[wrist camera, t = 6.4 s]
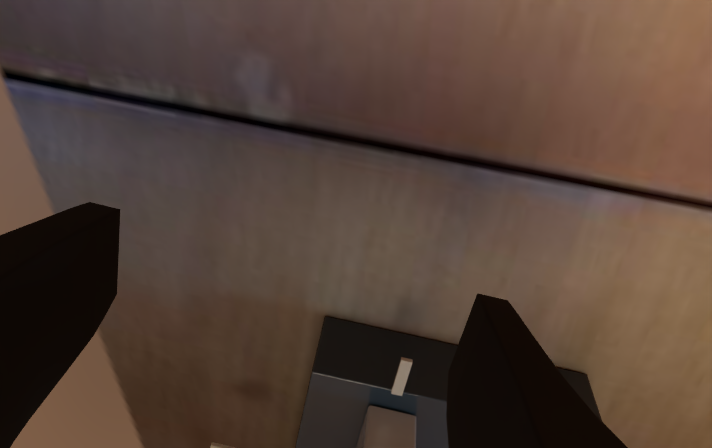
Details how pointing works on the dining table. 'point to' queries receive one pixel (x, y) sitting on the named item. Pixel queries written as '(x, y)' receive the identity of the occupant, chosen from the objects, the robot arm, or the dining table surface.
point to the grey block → (387, 429)
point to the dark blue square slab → (383, 384)
